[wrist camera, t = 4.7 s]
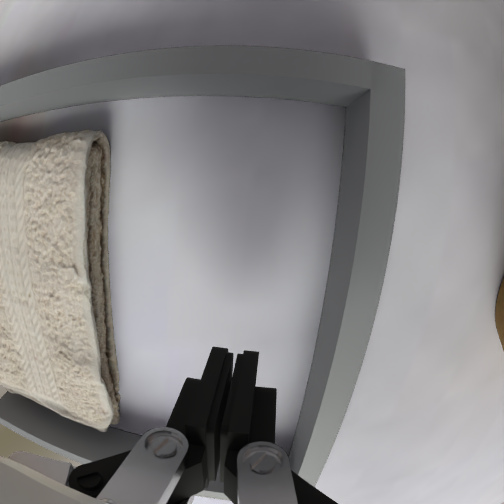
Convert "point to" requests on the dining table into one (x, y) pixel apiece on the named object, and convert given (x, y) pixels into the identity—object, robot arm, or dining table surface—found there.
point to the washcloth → (58, 276)
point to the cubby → (346, 228)
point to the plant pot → (500, 313)
